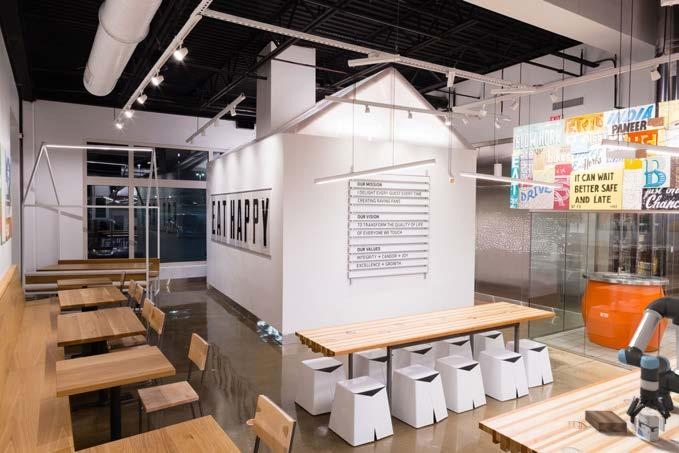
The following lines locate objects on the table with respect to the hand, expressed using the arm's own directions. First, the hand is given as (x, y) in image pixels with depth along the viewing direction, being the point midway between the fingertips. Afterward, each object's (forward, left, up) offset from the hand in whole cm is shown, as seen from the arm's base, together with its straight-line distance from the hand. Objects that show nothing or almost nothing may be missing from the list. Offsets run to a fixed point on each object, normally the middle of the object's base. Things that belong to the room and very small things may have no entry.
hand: (647, 430), depth 230 cm
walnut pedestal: (+15, -11, -3) cm, 19 cm away
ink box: (0, 0, -4) cm, 4 cm away
